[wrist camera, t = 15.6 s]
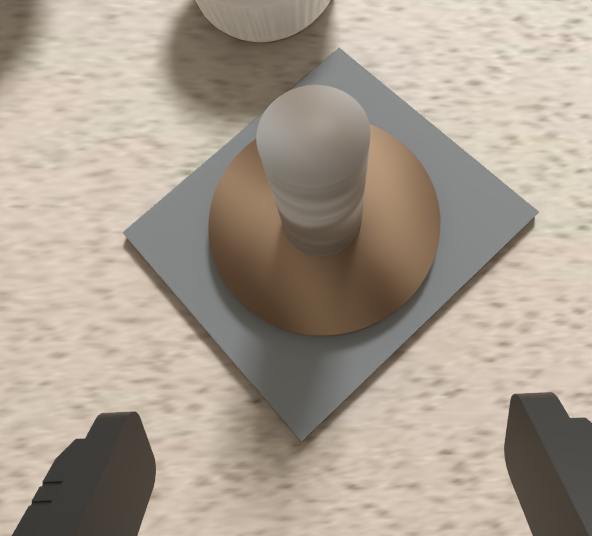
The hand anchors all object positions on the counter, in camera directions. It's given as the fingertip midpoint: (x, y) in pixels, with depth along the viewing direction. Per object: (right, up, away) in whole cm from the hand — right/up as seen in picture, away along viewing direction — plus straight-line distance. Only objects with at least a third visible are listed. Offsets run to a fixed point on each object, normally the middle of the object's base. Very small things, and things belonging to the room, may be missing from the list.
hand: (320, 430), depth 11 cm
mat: (+1, +6, +18) cm, 19 cm away
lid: (+1, +6, +18) cm, 19 cm away
